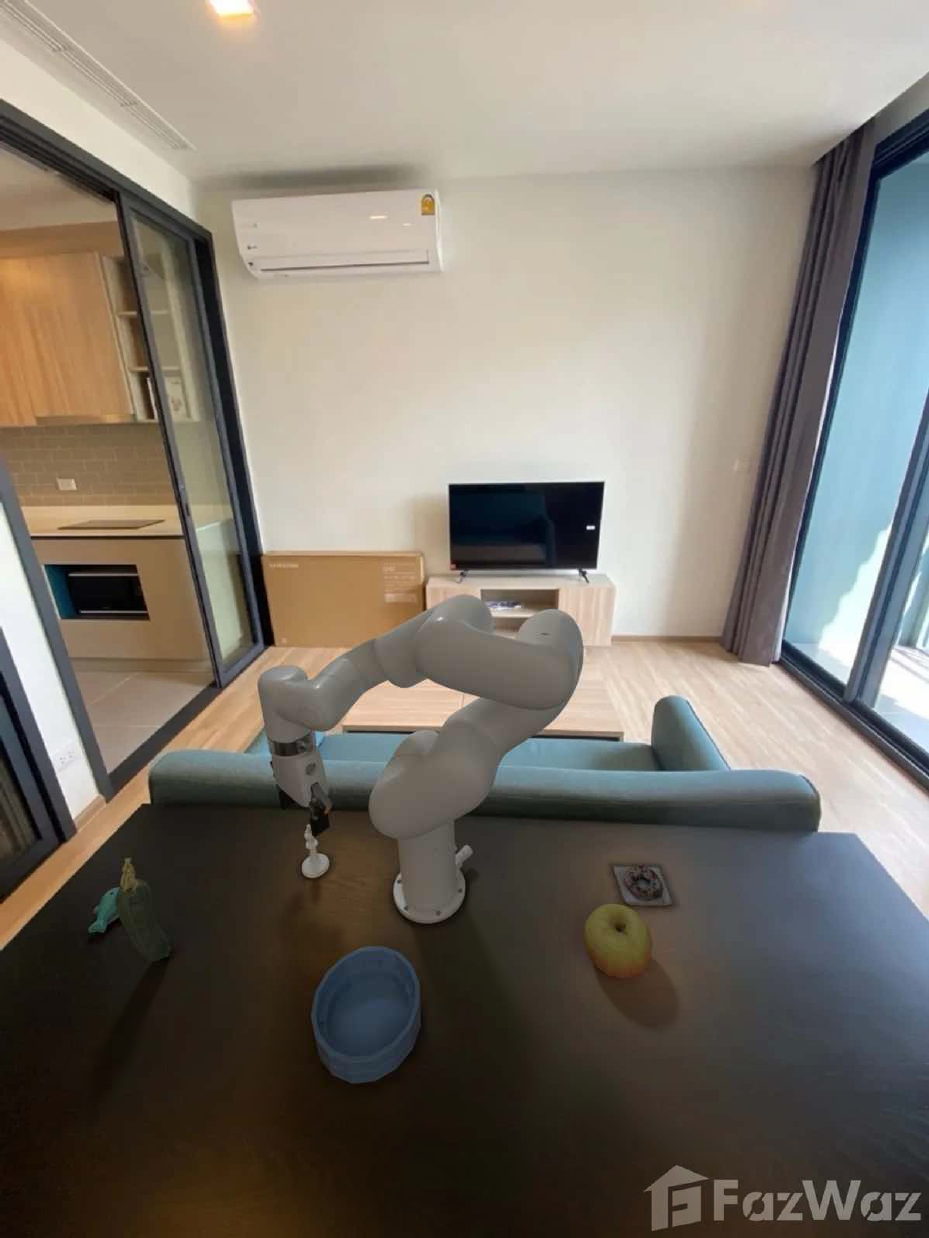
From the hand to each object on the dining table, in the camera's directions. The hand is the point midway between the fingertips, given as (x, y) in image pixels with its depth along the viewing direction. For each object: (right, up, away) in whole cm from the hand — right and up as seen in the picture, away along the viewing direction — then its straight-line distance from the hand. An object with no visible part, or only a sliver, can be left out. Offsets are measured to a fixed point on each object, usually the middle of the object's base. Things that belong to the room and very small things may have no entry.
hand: (305, 817), depth 89 cm
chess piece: (+1, -11, +4) cm, 12 cm away
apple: (+52, -17, -12) cm, 56 cm away
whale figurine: (-31, -15, -4) cm, 35 cm away
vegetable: (-19, -18, -11) cm, 29 cm away
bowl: (+15, -20, -20) cm, 32 cm away
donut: (+60, -12, -1) cm, 61 cm away
